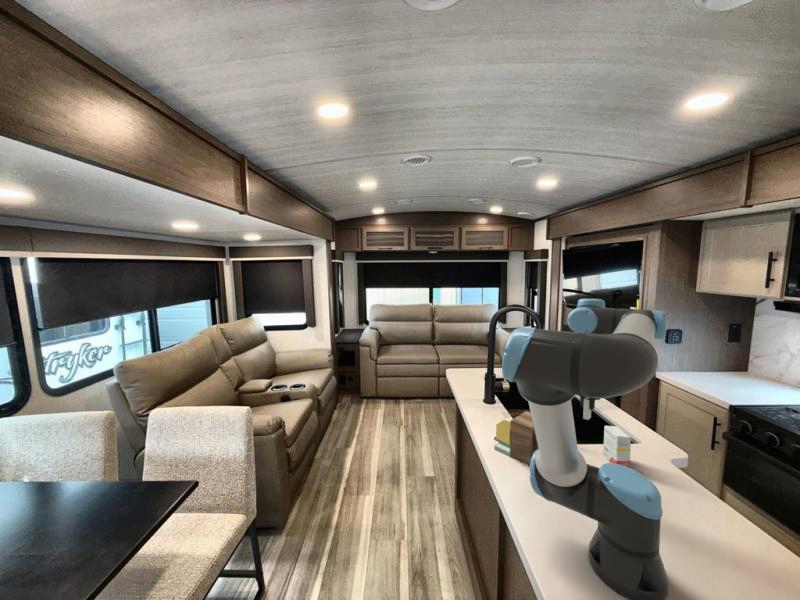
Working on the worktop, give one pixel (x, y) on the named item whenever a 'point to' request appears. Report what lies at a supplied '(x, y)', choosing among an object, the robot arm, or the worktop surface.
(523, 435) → the wooden house block
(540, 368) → the robot arm
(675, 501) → the worktop surface
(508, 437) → the yellow angular block
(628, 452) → the ink box
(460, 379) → the worktop surface
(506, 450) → the deck
